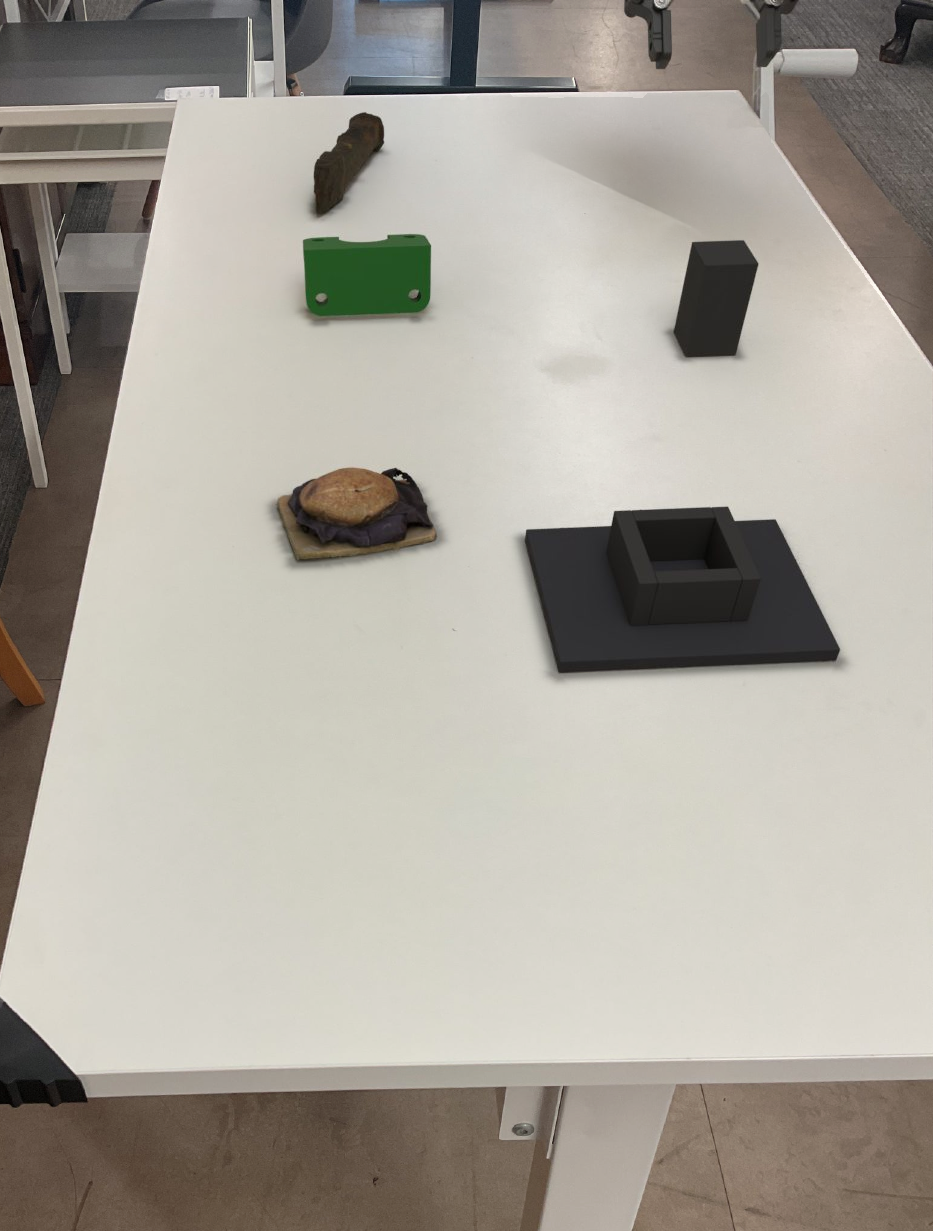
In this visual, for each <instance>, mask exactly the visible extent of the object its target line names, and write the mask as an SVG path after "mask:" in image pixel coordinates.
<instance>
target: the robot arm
mask: <svg viewBox="0 0 933 1231" xmlns="http://www.w3.org/2000/svg"><path fill="white" fill-rule="evenodd" d="M799 1H800V0H739V2H740V3H741V4H742V5H747V6H748V7H749V8H750V9H751V11H752V12H753V13H754V15H755V16H756V18H757V19H758V20H757V21H756V23H755V43H756V44H755V46H756V48H755V50H756V51H755V52H756V67H757V68H768V66H769V65H770V64H771V62H772V61H773V59H774V58H775V57H776V55H777V54H778V52H779V51H780V49H781V47H782V15H790V14H791V13H792V12H793V11H794V9H795V7H796V6H797V4H798V3H799ZM623 2H624V4H623V12H624V14H625V16H626V17H627V18H630V19H632V18H633V19H634V18H635V17H639V18H641V19H643V20H644V21H645V22H646V24H647V43H648V44H647V48H648V49H647V50H648V51H647V52H648V54H647V55H648V58H649V61H650V62H651V63H655V70H666V69H667V67H668V65H669V63H670V61H671V59H672V57H673V56H672V55H673V47H672V46H673V43H672V42H673V40H672V39H673V36H672V35H673V34H672V10H671V9H669V8H670V7H671V6H672V5H673V3H674V2H675V0H624V1H623Z"/></svg>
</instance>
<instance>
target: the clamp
mask: <svg viewBox="0 0 933 1231" xmlns="http://www.w3.org/2000/svg"><path fill="white" fill-rule="evenodd" d="M386 237H387V238H386V239H382V240H373V241H347V240H342V239H340V236H323V237H318V236H317V237H309V238H304V239H302V253H303V254H302V256H303V265H304V266H303V268H304V269H303V270H304V292H305V294H304V295H305V302H306V303H305V304H306V306H307V309H308V310H309V312H310V313H311V314H313V315H314V316H316V317H343V316H344V317H345V316H367V315H370V316H371V315H392V314H393V315H394V314H416V313H420V312H422V311H424V310H425V309H427V307H428V305H429V304H430V301H431V293H432V292H431V290H432V289H431V285H432V281H431V280H432V274H431V273H432V244H431V243H430V241H429V239H428V238H427V237H426V235H425V234H419V233H401V234H399V233H398V234H387V235H386ZM412 291H417V295H416V296H414V297H410V293H411V292H412ZM321 294H324V295H325V296H326V298H325V299H324V300H322V301H321V300H318V299H317V297H318V296H319V295H321Z"/></svg>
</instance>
